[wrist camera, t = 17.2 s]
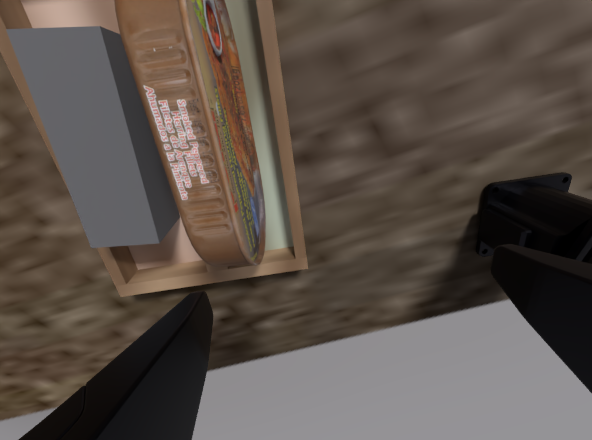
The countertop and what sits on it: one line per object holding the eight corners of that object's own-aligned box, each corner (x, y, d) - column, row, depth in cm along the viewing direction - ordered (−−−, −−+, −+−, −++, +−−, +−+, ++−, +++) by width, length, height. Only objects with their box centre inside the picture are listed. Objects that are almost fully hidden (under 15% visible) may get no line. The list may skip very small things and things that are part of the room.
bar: (180, 217, 20) (159, 243, 17) (124, 221, 20) (91, 248, 17) (139, 42, 16) (99, 26, 12) (67, 45, 16) (5, 29, 12)
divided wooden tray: (257, -93, 14) (254, -128, 12) (304, 251, 23) (308, 268, 21) (-13, -56, 14) (-67, -85, 12) (136, 277, 23) (120, 296, 21)
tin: (270, 225, 21) (267, 298, 14) (229, 231, 21) (203, 307, 13) (225, -23, 15) (173, -149, 7) (167, -15, 15) (54, -134, 7)
